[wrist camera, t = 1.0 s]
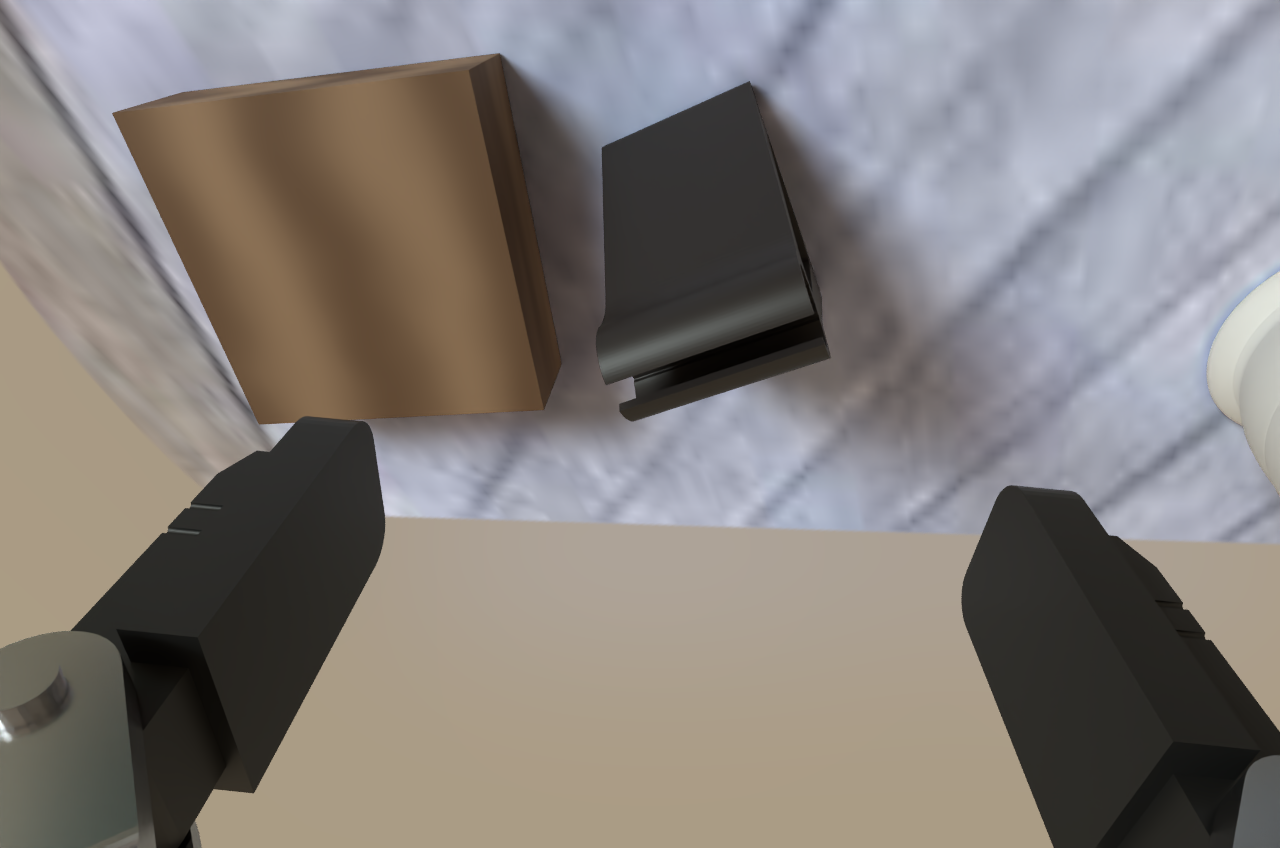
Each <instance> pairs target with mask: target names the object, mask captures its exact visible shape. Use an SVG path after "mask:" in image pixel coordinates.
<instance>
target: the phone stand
mask: <svg viewBox="0 0 1280 848" xmlns="http://www.w3.org/2000/svg"><path fill="white" fill-rule="evenodd" d="M602 176H603V215H604V253H605V292H606V309H605V316H604V320H603V322H602V324H601V326H600V327H599V328H598V331H597V335H596V348H597V356H598V361H599V365H600V369H601V373H602V376H603V379H604V382H605V384H606V385H608V384H611V383H614V382H617V381H620V380H623V379H626V378H629V377H632V376H633V378H634V386H635V392H636V399H633V400H630V401H627V402H624V403H621V404H619V407H620V413H621V414H622V415H623V416H624V417H625V418H626V419H628V420H629V421H636V420H639V419H642V418H645V417H649V416H652V415H655V414H658V413H661V412H664V411H667V410H670V409H673V408H677V407H680V406H683V405H686V404H689V403H692V402H695V401H698V400H701V399H705V398H708V397H711V396H714V395H717V394H720V393H723V392H726V391H730V390H733V389H736V388H739V387H742V386H745V385H748V384H751V383H754V382H758V381H761V380H764V379H767V378H770V377H773V376H776V375H779V374H782V373H786V372H789V371H792V370H795V369H798V368H801V367H804V366H807V365H811V364H814V363H817V362H820V361H823V360H826V359H829V358H831V357H830V352H829V348H828V344H827V341H826V337H825V333H824V329H823V324H822V296H821V293H820V290H819V287H818V284H817V281H816V278H815V275H814V272H813V269H812V266H811V263H810V260H809V257H808V254H807V251H806V248H805V245H804V242H803V239H802V236H801V233H800V230H799V227H798V224H797V221H796V218H795V215H794V212H793V209H792V206H791V203H790V200H789V197H788V194H787V191H786V188H785V185H784V182H783V179H782V176H781V173H780V170H779V167H778V164H777V161H776V158H775V155H774V152H773V149H772V146H771V143H770V140H769V137H768V134H767V131H766V128H765V125H764V122H763V119H762V116H761V113H760V110H759V107H758V104H757V101H756V98H755V95H754V92H753V89H752V86H751V83H750V81H749V82H747V83H744V84H742V85H740V86H738V87H735V88H733V89H731V90H729V91H727V92H724V93H722V94H720V95H718V96H715V97H713V98H711V99H709V100H706V101H704V102H702V103H700V104H698V105H695V106H693V107H691V108H689V109H686V110H684V111H682V112H680V113H677V114H675V115H673V116H671V117H668V118H666V119H664V120H662V121H660V122H657V123H655V124H653V125H651V126H648V127H646V128H644V129H642V130H639V131H637V132H635V133H633V134H631V135H628V136H626V137H624V138H622V139H619V140H617V141H615V142H613V143H610V144H608V145H606V146H604V147H602Z"/></svg>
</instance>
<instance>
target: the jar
mask: <svg viewBox="0 0 1280 848" xmlns="http://www.w3.org/2000/svg"><path fill="white" fill-rule="evenodd" d="M1207 384H1208V388H1209V392H1210V394H1211V397H1212V399H1213V400H1214V402H1215V404H1216V405H1217V407H1218V408H1219V409H1220V410H1221V411H1222V412H1223V413H1224V414H1225V415H1226V416H1227V417H1228V418H1230V419H1231V420H1233V421H1234V422H1236V423H1238V424H1240V425H1242V426H1243V429H1244V433H1245V436H1246V439H1247V441H1248V444H1249V446H1250V448H1251V451H1252V453H1253V455H1254V456H1255V458H1256V460H1257V462H1258V464H1259V465H1260V467H1261V468H1262V470H1263V472H1264V473H1265V475H1266V476H1267V477H1268V479H1269V480H1270V482H1271V483H1272V484H1273V485H1274V487H1275V489H1276V491H1277V493H1278V494H1279V496H1280V271H1279V272H1277V273H1276V274H1274V275H1273V276H1271V277H1270V278H1268V279H1267V280H1266V281H1264V282H1263V283H1262V284H1260V285H1259V286H1258V287H1256V288H1255V289H1254V290H1253V291H1252V292H1251V293H1250V294H1248V295H1247V296H1246V297H1245V298H1244V299H1243V300H1242V301H1241V302H1240V303H1239V304H1238V305H1237V307H1236V308H1235V309H1234V310H1233V311H1232V313H1231V314H1230V315H1229V316H1228V318H1227V319H1226V320H1225V322H1224V323H1223V325H1222V326H1221V328H1220V330H1219V332H1218V334H1217V336H1216V337H1215V340H1214V342H1213V344H1212V347H1211V350H1210V353H1209V357H1208V362H1207Z"/></svg>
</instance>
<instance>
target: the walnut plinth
mask: <svg viewBox="0 0 1280 848" xmlns="http://www.w3.org/2000/svg"><path fill="white" fill-rule="evenodd" d="M112 114H113V116H114V118H115V120H116V122H117V124H118V127H119V129H120V131H121V133H122V135H123V137H124V139H125V141H126V144H127V146H128V148H129V150H130V152H131V154H132V156H133V158H134V161H135V163H136V165H137V167H138V169H139V171H140V173H141V175H142V177H143V180H144V182H145V184H146V186H147V188H148V190H149V192H150V194H151V197H152V199H153V201H154V203H155V205H156V207H157V209H158V211H159V214H160V216H161V218H162V220H163V222H164V224H165V226H166V228H167V230H168V233H169V235H170V237H171V239H172V241H173V243H174V245H175V247H176V250H177V252H178V254H179V256H180V258H181V260H182V262H183V264H184V267H185V269H186V271H187V273H188V275H189V277H190V279H191V281H192V283H193V286H194V288H195V290H196V292H197V294H198V296H199V298H200V300H201V303H202V305H203V307H204V309H205V311H206V313H207V315H208V317H209V320H210V322H211V324H212V326H213V328H214V330H215V332H216V334H217V336H218V339H219V341H220V343H221V345H222V347H223V349H224V351H225V353H226V356H227V358H228V360H229V362H230V364H231V366H232V368H233V370H234V373H235V375H236V377H237V379H238V381H239V383H240V385H241V387H242V389H243V392H244V394H245V396H246V398H247V400H248V402H249V404H250V406H251V409H252V411H253V413H254V415H255V417H256V419H257V421H258V423H259V424H277V423H296V422H297V421H298V420H299V419H300V418H302V417H304V416H312V417H322V418H333V419H343V420H356V419H376V418H396V417H416V416H435V415H455V414H475V413H495V412H514V411H534V410H544V409H545V406H546V403H547V401H548V398H549V395H550V393H551V390H552V388H553V385H554V382H555V380H556V377H557V374H558V372H559V369H560V367H561V364H562V363H561V358H560V353H559V348H558V343H557V338H556V333H555V328H554V323H553V318H552V313H551V308H550V303H549V298H548V293H547V288H546V283H545V278H544V273H543V268H542V263H541V258H540V253H539V248H538V243H537V238H536V233H535V228H534V223H533V218H532V213H531V208H530V203H529V198H528V193H527V188H526V182H525V177H524V172H523V167H522V162H521V157H520V152H519V147H518V142H517V137H516V132H515V127H514V122H513V117H512V112H511V107H510V102H509V97H508V92H507V87H506V82H505V77H504V72H503V67H502V62H501V57H500V53H498V54H490V55H482V56H474V57H466V58H457V59H449V60H441V61H433V62H425V63H417V64H409V65H401V66H393V67H384V68H376V69H368V70H360V71H352V72H344V73H336V74H328V75H320V76H311V77H303V78H295V79H287V80H279V81H271V82H263V83H255V84H247V85H239V86H230V87H222V88H214V89H206V90H198V91H190V92H182V93H178V94H175V95H172V96H168V97H165V98H161V99H158V100H155V101H151V102H148V103H144V104H141V105H138V106H134V107H131V108H127V109H124V110H121V111H117V112H114V113H112Z"/></svg>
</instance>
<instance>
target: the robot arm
mask: <svg viewBox="0 0 1280 848" xmlns="http://www.w3.org/2000/svg"><path fill="white" fill-rule="evenodd" d="M384 533H385V513H384V506H383V500H382V493H381V486H380V479H379V472H378V466H377V459H376V452H375V445H374V439H373V434H372V431H371V428H370V426H369V425H368V424H367V423H366V422H363V421H354V420H343V419H333V418H322V417H312V416H304V417H302V418H300V419H299V420H298V421H297V422H296V423H295V424H294V425H293V426H292V427H291V428H290V430H289V431H288V432H287V433H286V434H285V435H284V436H283V438H282V439H281V440H280V441H279V442H278V443H277V444H276V446H275V447H274V448H273V449H272V450H271V451H270V452H264V451H256V452H254V453H252V454H251V455H249V456H247V457H245V458H244V459H242V460H240V461H238V462H237V463H235V464H233V465H232V466H230V467H228V468H226V469H225V470H223V471H221V472H220V473H218V474H217V475H216V476H215V477H214V478H213V479H212V480H211V481H210V482H209V483H208V484H207V486H206V487H205V488H204V489H203V490H202V491H201V492H200V493H199V494H198V495H197V496H196V497H195V498H194V500H193V501H192V502H191V507H190V509H188V508H185V509H184V510H183V511H182V512H181V513H180V514H179V515H178V517H177V518H176V519H175V520H174V521H173V522H172V523H171V524H170V525H169V526H168V532H167V533H162V534H161V535H160V536H159V537H158V538H157V539H156V540H155V541H154V542H153V543H152V544H151V545H150V547H149V548H148V549H147V550H146V551H145V552H144V553H143V554H142V555H141V556H140V557H139V558H138V559H137V560H136V561H135V563H134V564H133V565H132V566H131V567H130V568H129V569H128V570H127V571H126V572H125V573H124V574H123V575H122V576H121V578H120V579H119V580H118V581H117V582H116V583H115V584H114V585H113V586H112V587H111V588H110V589H109V590H108V591H107V592H106V593H105V595H104V596H103V597H102V598H101V599H100V600H99V601H98V602H97V603H96V604H95V606H93V607H92V608H91V610H90V611H89V612H88V613H87V614H86V615H85V616H84V617H83V618H82V619H81V620H80V621H79V622H78V624H77V625H76V626H75V627H74V628H73V629H72V630H71V631H62V632H53V633H47V634H42V635H38V636H34V637H31V638H27V639H24V640H21V641H18V642H15V643H12V644H10V645H7V646H5V647H3V648H1V649H0V848H202V847H201V841H200V835H199V831H198V828H197V824H196V822H195V819H196V818H197V816H198V814H199V813H200V811H201V809H202V807H203V806H204V804H205V802H206V801H207V799H208V797H209V796H210V794H211V792H212V790H213V789H218V790H228V791H238V792H246V793H247V792H248V793H254V792H255V790H256V788H257V787H258V785H259V783H260V781H261V779H262V777H263V775H264V773H265V772H266V770H267V768H268V766H269V764H270V762H271V760H272V758H273V757H274V755H275V753H276V751H277V749H278V747H279V745H280V743H281V741H282V740H283V738H284V736H285V734H286V732H287V730H288V728H289V727H290V725H291V723H292V721H293V719H294V717H295V715H296V714H297V712H298V710H299V708H300V706H301V704H302V702H303V700H304V699H305V697H306V695H307V693H308V691H309V689H310V687H311V685H312V684H313V682H314V680H315V678H316V676H317V674H318V672H319V670H320V669H321V667H322V665H323V663H324V661H325V659H326V657H327V655H328V654H329V652H330V650H331V648H332V646H333V644H334V642H335V641H336V639H337V637H338V635H339V633H340V631H341V629H342V627H343V626H344V624H345V622H346V620H347V618H348V616H349V614H350V612H351V610H352V609H353V607H354V605H355V603H356V601H357V599H358V597H359V596H360V594H361V592H362V590H363V588H364V586H365V584H366V583H367V581H368V579H369V577H370V575H371V573H372V571H373V569H374V568H375V566H376V563H377V561H378V559H379V556H380V553H381V549H382V545H383V540H384ZM1182 604H1183V602H1182V601H1181V600H1180V598H1179V597H1178V596H1177V594H1176V593H1175V591H1174V590H1173V589H1172V587H1171V586H1170V585H1169V583H1168V582H1167V581H1166V579H1165V578H1164V577H1163V575H1162V574H1161V573H1160V572H1159V570H1158V569H1157V567H1155V566H1154V565H1153V564H1152V563H1150V562H1149V561H1148V560H1146V559H1145V558H1144V557H1143V556H1141V555H1140V554H1139V553H1138V552H1136V551H1135V550H1134V549H1132V548H1131V547H1130V546H1129V545H1128V544H1126V543H1125V542H1124V541H1123V540H1121V539H1120V538H1119V537H1118V536H1109V535H1108V534H1107V532H1106V531H1105V529H1104V528H1103V527H1102V525H1101V524H1100V522H1099V521H1098V520H1097V518H1096V517H1095V515H1094V514H1093V512H1092V511H1091V510H1090V508H1089V507H1088V505H1087V504H1086V503H1085V501H1084V500H1083V499H1082V497H1081V496H1080V495H1078V494H1077V493H1075V492H1073V491H1065V490H1054V489H1044V488H1034V487H1023V486H1012V485H1010V486H1007V487H1006V488H1004V489H1003V490H1002V491H1001V492H1000V494H999V495H998V497H997V499H996V501H995V504H994V506H993V508H992V511H991V513H990V516H989V518H988V521H987V523H986V525H985V528H984V530H983V533H982V535H981V538H980V540H979V543H978V545H977V547H976V550H975V552H974V555H973V558H972V559H971V562H970V564H969V567H968V569H967V572H966V574H965V577H964V581H963V587H962V612H963V618H964V622H965V625H966V628H967V630H968V633H969V635H970V638H971V641H972V643H973V646H974V648H975V651H976V653H977V656H978V658H979V661H980V663H981V666H982V668H983V671H984V673H985V676H986V678H987V681H988V683H989V686H990V688H991V691H992V693H993V696H994V698H995V701H996V703H997V706H998V709H999V711H1000V713H1001V716H1002V718H1003V721H1004V724H1005V726H1006V729H1007V731H1008V734H1009V736H1010V738H1011V741H1012V744H1013V746H1014V749H1015V751H1016V754H1017V756H1018V759H1019V761H1020V764H1021V766H1022V769H1023V771H1024V774H1025V776H1026V779H1027V782H1028V784H1029V786H1030V789H1031V791H1032V794H1033V797H1034V799H1035V801H1036V804H1037V807H1038V809H1039V812H1040V814H1041V817H1042V819H1043V821H1044V824H1045V827H1046V829H1047V832H1048V834H1049V837H1050V839H1051V842H1052V844H1053V847H1054V848H1280V732H1279V730H1278V729H1277V728H1276V726H1275V725H1274V724H1273V722H1272V721H1271V720H1270V718H1269V717H1268V716H1267V714H1266V713H1265V712H1264V711H1263V709H1262V708H1261V706H1260V705H1259V704H1258V702H1257V701H1256V700H1255V699H1254V697H1253V696H1252V694H1251V693H1250V692H1249V690H1248V689H1247V688H1246V686H1245V685H1244V684H1243V682H1242V681H1241V680H1240V678H1239V677H1238V676H1237V674H1236V673H1235V672H1234V670H1233V669H1232V668H1231V666H1230V665H1229V664H1228V662H1227V661H1226V660H1225V658H1224V657H1223V656H1222V654H1221V653H1220V652H1219V650H1218V649H1217V647H1216V646H1215V645H1214V643H1213V642H1212V641H1211V640H1206V639H1205V637H1204V635H1205V632H1204V630H1203V629H1202V627H1201V626H1200V625H1199V623H1198V622H1197V621H1196V620H1195V618H1194V617H1193V616H1192V614H1191V613H1190V611H1189V610H1184V609H1183V607H1182Z"/></svg>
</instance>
